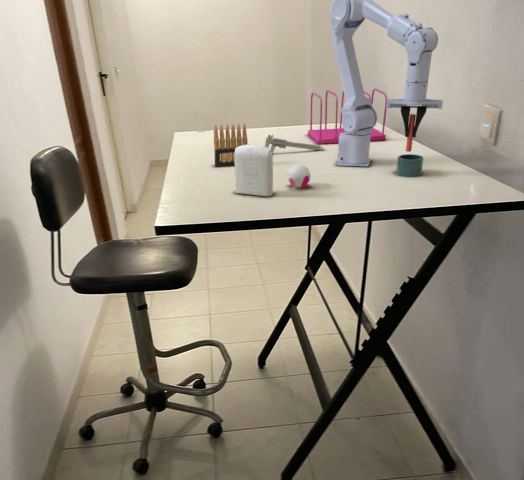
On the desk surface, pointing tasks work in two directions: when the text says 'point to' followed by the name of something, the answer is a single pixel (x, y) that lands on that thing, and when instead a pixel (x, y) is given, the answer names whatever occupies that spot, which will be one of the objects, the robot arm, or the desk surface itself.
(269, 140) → the caliper
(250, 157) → the white tall block
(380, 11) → the robot arm
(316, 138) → the file sorter
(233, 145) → the ammunition clip
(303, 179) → the stress ball
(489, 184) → the desk surface
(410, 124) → the red cylinder rod
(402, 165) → the cup
